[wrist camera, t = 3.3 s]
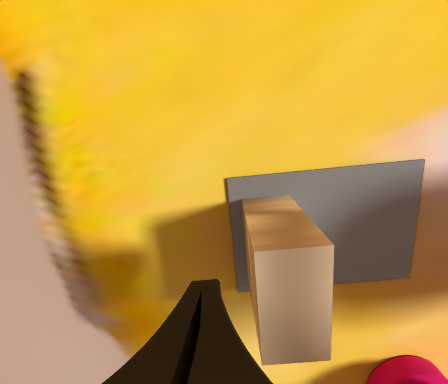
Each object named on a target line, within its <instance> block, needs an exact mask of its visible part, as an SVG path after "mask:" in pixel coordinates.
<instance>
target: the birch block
mask: <svg viewBox="0 0 448 384" xmlns="http://www.w3.org/2000/svg"><path fill="white" fill-rule="evenodd" d="M242 209H243V221H244V233H245V246H246V258H247V270H248V279H249V285H250V291H251V298H252V304H253V310H254V317H255V323H256V330H257V336H258V342H259V349H260V355H261V362H262V365H274V364H288V363H301V362H315V361H328V360H331V333H332V300H333V267H334V244H333V243H332V242H331V241H330V240H329V239H328V238H327V237H326V235H325V234H324V233H323V232H322V231H321V230H320V229H319V228H318V227H317V226H316V224H315V223H314V222H313V221H312V220H311V219H310V218H309V217H308V216H307V215H306V213H305V212H304V211H303V210H302V209H301V208H300V207H299V206H298V205H297V203H296V202H295V201H294V200H293V199H292V198H291V197H290V196H289V195H281V196H270V197H260V198H249V199H242Z"/></svg>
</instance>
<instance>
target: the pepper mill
mask: <svg viewBox="0 0 448 384" xmlns="http://www.w3.org/2000/svg"><path fill="white" fill-rule="evenodd" d="M367 384H448V380H447V379H446V378H445V376H444V375H443V374H442V373H441V372H440V371H439V369H438V368H437V367H436V366H435V365H434V364H433V363H431V362H430V361H428V360H426V359H424V358H421V357H416V356H402V357H397V358H393V359H391V360H388V361H386V362H384V363H383V364H382V365H380V366H379V367H378V368H376V369H375V370H374V372H373V373H372V374H371V376H370V378H369V381H368V383H367Z"/></svg>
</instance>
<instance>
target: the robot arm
mask: <svg viewBox="0 0 448 384" xmlns="http://www.w3.org/2000/svg"><path fill="white" fill-rule="evenodd" d="M102 384H273V383H272V382H271V381H270V380H269V378H268V377H267V376H266V375H265V373H264V372H263V371H262V370H261V368H260V367H259V366H258V364H257V363H256V361H255V360H254V359H253V357H252V356H251V354H250V353H249V352H248V350H247V349H246V347H245V345H244V344H243V342H242V341H241V339H240V337H239V335H238V334H237V332H236V330H235V328H234V326H233V324H232V322H231V320H230V318H229V315H228V313H227V311H226V308H225V305H224V303H223V300H222V296H221V290H220V282H219V280H217V279H213V280H201V281H192V282H191V283H190V285H189V287H188V288H187V290H186V291H185V293H184V295H183V296H182V298H181V299H180V301H179V302H178V304H177V305H176V307H175V308H174V309H173V311H172V312H171V314H170V315H169V316H168V318H167V319H166V320H165V322H164V323H163V324H162V325H161V327H160V328H159V329H158V330H157V332H156V333H155V334H154V335H153V336H152V337H151V338H150V340H149V341H148V342H147V343H146V344H145V345H144V346H143V347H142V348H141V349H140V350H139V351H138V352H137V353H136V354H135V355H134V356H133V357H132V358H131V359H130V360H129V361H128V362H127V363H126V364H125V365H123V366H122V367H121V368H120V369H119V370H118V371H116V372H115V373H114V374H113V375H112V376H111V377H109V378H108V379H107V380H106V381H104V382H103V383H102Z"/></svg>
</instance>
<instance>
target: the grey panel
mask: <svg viewBox="0 0 448 384" xmlns="http://www.w3.org/2000/svg"><path fill="white" fill-rule="evenodd" d="M424 165H425V159H419V160H409V161H399V162H388V163H378V164H368V165H357V166H347V167H337V168H326V169H316V170H306V171H295V172H285V173H275V174H264V175H254V176H243V177H233V178H227V185H228V195H229V205H230V216H231V226H232V236H233V246H234V256H235V266H236V277H237V287H238V292H247V291H250V285H249V279H248V270H247V258H246V246H245V233H244V221H243V209H242V199H249V198H260V197H270V196H281V195H289V196H290V197H291V198H292V199H293V200H294V201H295V202H296V203H297V205H298V206H299V207H300V208H301V209H302V210H303V211H304V212H305V213H306V215H307V216H308V217H309V218H310V219H311V220H312V221H313V222H314V223H315V224H316V226H317V227H318V228H319V229H320V230H321V231H322V232H323V233H324V234H325V235H326V237H327V238H328V239H329V240H330V241H331V242H332V243H333V244H334V267H333V284H343V283H355V282H367V281H379V280H391V279H404V278H410V271H411V263H412V256H413V248H414V240H415V233H416V225H417V218H418V210H419V203H420V195H421V188H422V180H423V172H424Z"/></svg>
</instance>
